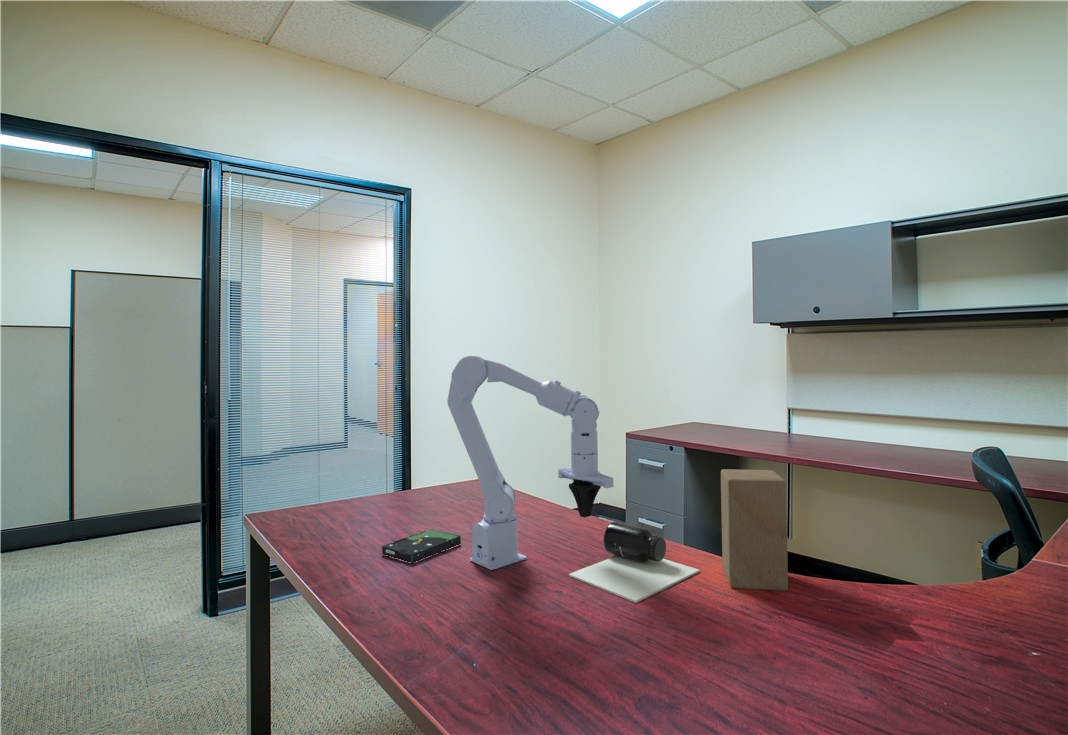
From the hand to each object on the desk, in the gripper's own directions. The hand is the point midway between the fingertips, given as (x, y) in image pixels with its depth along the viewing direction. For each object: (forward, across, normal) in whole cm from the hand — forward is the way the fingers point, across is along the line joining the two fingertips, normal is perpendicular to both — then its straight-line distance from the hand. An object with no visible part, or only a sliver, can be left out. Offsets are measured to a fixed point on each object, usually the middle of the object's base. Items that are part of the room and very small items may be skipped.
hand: (585, 516), depth 116 cm
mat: (+9, -13, 0) cm, 16 cm away
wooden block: (+9, -30, -14) cm, 35 cm away
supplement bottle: (+5, -3, -5) cm, 8 cm away
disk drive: (+10, +29, +23) cm, 38 cm away
